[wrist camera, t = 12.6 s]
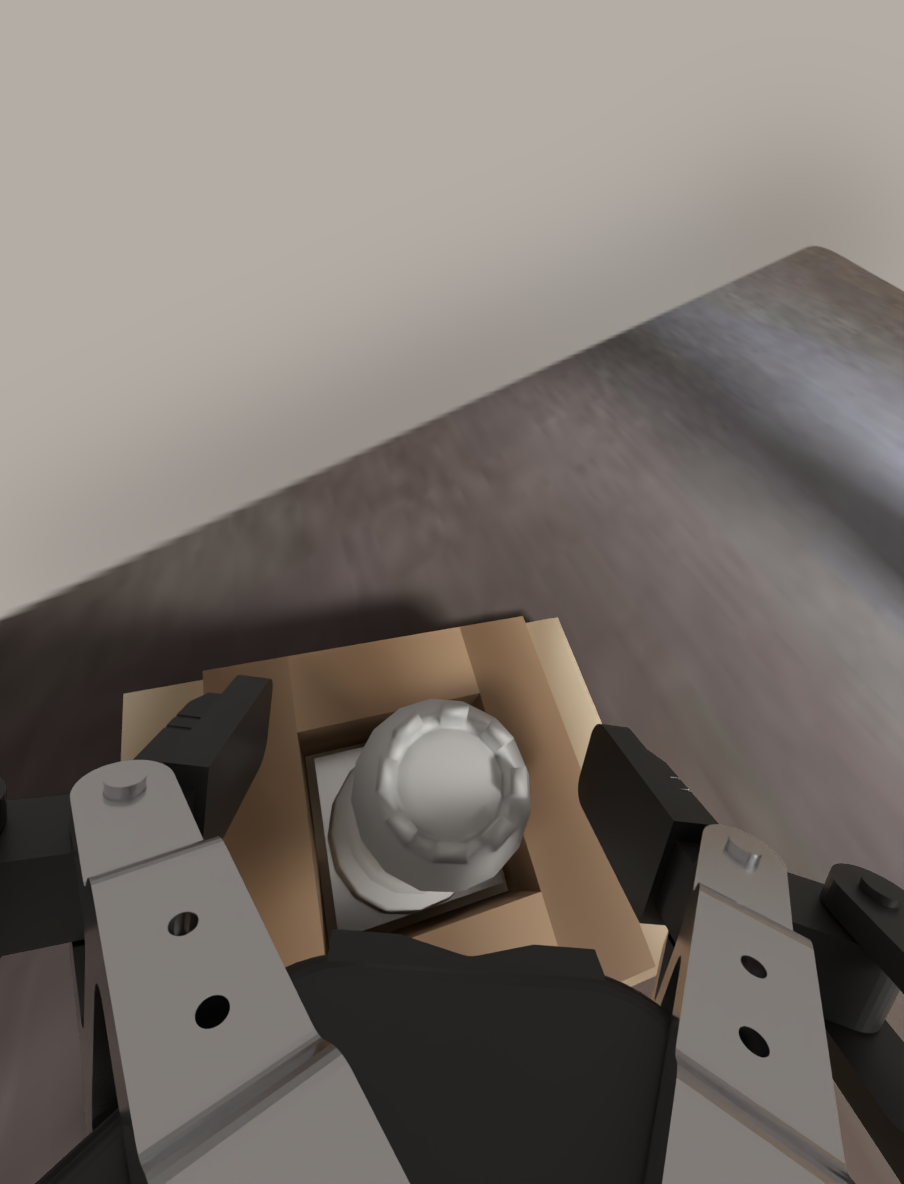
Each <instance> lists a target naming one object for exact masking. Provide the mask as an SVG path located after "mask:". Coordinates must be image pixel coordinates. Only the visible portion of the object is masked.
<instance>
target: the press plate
mask: <svg viewBox="0 0 904 1184" xmlns="http://www.w3.org/2000/svg"><path fill="white" fill-rule="evenodd" d="M363 748H364V747H361V748H356V749H352V750H348V751H344V752H339V753H335V754H331V755H326V756H322V757H318V758H314V760H315V768H316V775H317V782H318V790H319V797H320V804H321V812H322V819H323V826H324V834H325V841H326V848H327V855H328V863H329V870H330V877H331V885H332V892H333V899H334V907H335V914H336V921H337V929H338V930H352V931H364V930H366V929H369V928H372V927H375V926H378V925H381V924H384V923H387V922H390V921H393V920H396V919H399V918H402V917H404V916H407V915H410V914H383V913H381V912H380V911H378V910H376V909H374V908H372V907H370V906H369V905H367V904H365V903H363V902H361V901H359V900H358V899H356V898H354V896H353V895H352V894H351V892H350V891H349V889H348V888H347V887H346V885H345V884H344V883H343V881H342V880H341V878H340V877H339V876H338V874H337V873H336V871H335V869H334V864H333V860H332V856H331V851H330V847H329V843H328V838H327V836H328V829H329V822H330V815H331V809H332V803H333V802H334V799H335V797H336V795H337V794H338V792H339V790H340V788H341V786H342V785H343V783H344V781H345V779H346V777H347V775H348V774H349V772H350V771H351V770H352V769H353V768H354V767H355V765H356V761H357V759H358V757H359V755H360V753H361V752H362V750H363ZM501 883H503V879H502V876H501V872H500V870H499V872H498V873H497V874H496V875H495V876H494V877H492V878H490V879H488V880H486V881H483V882H481V883H479V884H477V885H475V886H472V887H470V888H468V889H466V890H464V891H462V892H455V894H454V895H453V896H452V897H451V898H450V899H449V900H446V901H444V902H442V903H445V902H448V901H451V900H454V899H457V898H460V897H463V896H466V895H469V894H472V893H475V892H478V891H480V890H483V889H486V888H489V887H492V886H495V885H498V884H501ZM442 903H440V904H442ZM440 904H438V905H440ZM436 906H437V905H436ZM433 907H434V906H433Z"/></svg>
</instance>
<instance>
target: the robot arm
mask: <svg viewBox="0 0 904 1184" xmlns="http://www.w3.org/2000/svg"><path fill="white" fill-rule="evenodd" d="M272 691H273V682H272V679H268V678H261V677H253V676H246V675H237V676H236V677H235V678H234V680H233V681H232V682H231V683H230V684H229V685H228V687H227V688H226V689H225V690H224V691H223V692H222V694H218V693H211V692H209V693H206V694H204V695H202V696H200V697H198V698H196V699H194V700H192V701H189V702H188V703H187V704H186V705H185V706H184V707H183V708H182V709H181V710H180V711H179V713H178V714H177V716H176V717H174V718H173V719H172V720H171V721H170V722H169V723H168V724H167V725H166V728H163V729H162V730H161V731H160V732H159V733H158V734H157V735H156V736H155V737H154V738H153V739H152V740H151V741H150V742H149V743H148V745H147V746H146V747H145V748H144V749H143V750H142V751H141V752H140V753H139V754H138V755H137V756H136V757H135V758H134V759H133V760H127V761H121V762H116V763H112V764H108V765H106V766H103V767H100V768H98V769H95V770H93V771H91V772H90V773H88V774H86V775H85V776H83V777H82V778H81V779H80V780H79V781H78V782H77V783H76V784H75V785H74V786H73V788H72V790H71V793H69V794H64V795H56V796H46V797H35V798H24V799H14V800H7V794H6V783H5V781H4V779H3V778H1V777H0V958H1V956H4V955H9V954H14V953H19V952H24V951H29V950H34V949H39V948H44V947H49V946H54V945H59V944H64V943H68V942H69V951H70V960H71V968H72V977H73V986H74V995H75V1004H76V1013H77V1021H78V1030H79V1039H80V1048H81V1059H82V1075H83V1099H84V1115H85V1128H86V1138H85V1139H83V1140H82V1141H81V1142H80V1143H79V1144H78V1145H77V1146H76V1147H75V1148H74V1149H73V1150H71V1151H70V1152H69V1153H68V1154H67V1155H66V1156H65V1157H64V1158H63V1159H62V1160H61V1161H59V1162H58V1163H57V1164H56V1165H55V1166H54V1167H53V1168H52V1169H51V1170H50V1171H48V1172H47V1173H46V1174H45V1175H44V1176H43V1177H42V1178H41V1179H40V1180H39V1181H38V1182H36V1183H35V1184H855V1183H854V1182H853V1180H852V1179H851V1178H850V1176H849V1174H848V1171H847V1168H846V1164H845V1159H844V1153H843V1146H842V1140H841V1133H840V1126H839V1119H838V1112H837V1106H836V1099H835V1092H834V1085H833V1080H834V1081H835V1083H836V1084H837V1086H838V1087H839V1089H840V1090H841V1092H842V1094H843V1095H844V1097H845V1098H846V1100H847V1101H848V1103H849V1104H850V1106H851V1107H852V1109H853V1110H854V1112H855V1113H856V1115H857V1116H858V1118H859V1119H860V1121H861V1123H862V1124H863V1126H864V1127H865V1129H866V1130H867V1132H868V1133H869V1135H870V1136H871V1138H872V1139H873V1141H874V1142H875V1144H876V1145H877V1147H878V1148H879V1150H880V1152H881V1153H882V1155H883V1156H884V1158H885V1159H886V1161H887V1162H888V1164H889V1165H890V1167H891V1168H892V1170H893V1171H894V1173H895V1174H896V1176H897V1177H898V1179H899V1181H900V1182H901V1184H904V1042H903V1041H902V1040H901V1038H900V1037H899V1036H898V1035H897V1033H896V1032H895V1031H894V1030H893V1029H892V1027H891V1026H890V1025H889V1024H888V1022H887V1021H886V1020H885V1019H886V1017H887V1015H888V1013H889V1011H890V1009H891V1007H892V1005H893V1003H894V1001H895V999H896V997H897V995H898V993H899V991H900V990H901V991H902V993H903V994H904V890H902V889H901V888H900V887H898V886H897V885H895V884H893V883H892V882H890V881H888V880H887V879H885V878H883V877H881V876H879V875H877V874H875V873H873V872H871V871H869V870H866V869H863V868H861V867H858V866H854V865H850V864H842V863H841V864H835V865H833V866H832V868H831V870H830V872H829V875H828V877H827V879H826V882H825V884H822V883H819V882H816V881H813V880H810V879H806V878H803V877H800V876H797V875H794V874H791V873H788V872H787V870H786V866H785V864H784V862H783V861H782V860H781V858H780V857H779V856H778V855H777V854H776V853H775V852H774V851H773V850H772V849H771V848H770V847H768V846H767V845H766V844H765V843H763V842H762V841H760V840H759V839H757V838H755V837H754V836H752V835H750V834H748V833H746V832H744V831H742V830H739V829H737V828H734V827H731V826H726V825H720V824H718V823H717V821H716V820H715V819H714V818H713V817H712V816H711V814H710V813H709V812H708V811H707V810H706V809H705V808H704V806H703V805H702V804H701V803H700V802H699V801H698V799H697V798H696V797H695V796H694V795H693V794H692V792H688V788H687V787H686V786H685V784H684V783H683V782H682V781H681V780H678V776H677V775H676V774H675V773H674V772H673V771H672V769H671V768H670V767H669V766H668V765H667V764H666V763H665V762H664V761H663V760H661V759H660V758H658V757H657V756H656V755H654V754H653V753H651V752H650V751H649V750H647V749H646V748H645V747H644V745H643V744H642V743H641V742H640V741H639V739H638V738H637V737H636V736H635V735H634V733H633V732H632V731H631V730H630V729H629V728H627V727H620V726H612V725H605V724H597V725H596V726H595V727H594V728H593V730H592V733H591V736H590V740H589V744H588V747H587V751H586V755H585V758H584V762H583V765H582V769H581V773H580V776H579V781H578V797H579V802H580V805H581V807H582V809H583V811H584V813H585V815H586V817H587V819H588V821H589V823H590V825H591V827H592V829H593V831H594V833H595V835H596V837H597V839H598V841H599V843H600V845H601V847H602V849H603V851H604V853H605V855H606V857H607V859H608V861H609V863H610V865H611V867H612V869H613V871H614V873H615V875H616V877H617V879H618V881H619V883H620V885H621V887H622V889H623V891H624V893H625V895H626V897H627V899H628V901H629V903H630V905H631V907H632V909H633V911H634V913H635V915H636V917H637V919H638V921H639V923H642V924H654V925H665V926H666V927H667V929H668V932H667V935H666V938H665V941H664V944H663V947H662V951H661V956H660V961H659V965H658V970H657V974H656V979H655V983H654V988H653V993H652V997H651V999H650V998H649V997H647V996H646V995H644V994H643V993H641V992H639V991H637V990H636V989H634V988H632V987H630V986H629V985H627V984H625V983H622V982H620V981H618V980H616V979H613V978H611V977H608V976H605V975H604V972H603V970H602V967H601V964H600V962H599V959H598V956H597V954H596V951H595V949H586V948H573V947H560V946H547V945H534V944H533V945H528V946H523V947H518V948H513V949H508V950H503V951H498V952H493V953H488V954H483V955H478V956H466V955H462V954H459V953H456V952H453V951H450V950H447V949H444V948H441V947H438V946H434V945H431V944H428V943H425V942H422V941H419V940H416V939H413V938H410V937H407V936H404V935H401V934H391V933H378V932H365V931H352V930H338V929H332V934H331V940H330V945H329V951H328V954H326V955H321V956H316V957H312V958H309V959H306V960H302V961H299V962H296V963H294V964H292V965H289V966H287V967H284V965H283V962H282V960H281V958H280V956H279V954H278V952H277V950H276V948H275V946H274V944H273V942H272V940H271V938H270V936H269V934H268V932H267V929H266V927H265V925H264V923H263V921H262V919H261V917H260V915H259V913H258V911H257V909H256V907H255V905H254V903H253V901H252V899H251V896H250V894H249V892H248V890H247V888H246V886H245V884H244V882H243V880H242V878H241V876H240V874H239V872H238V870H237V868H236V866H235V863H234V861H233V859H232V857H231V855H230V853H229V851H228V849H227V847H226V845H225V843H224V841H223V838H224V836H225V834H226V832H227V830H228V828H229V826H230V824H231V822H232V820H233V818H234V817H235V815H236V813H237V811H238V809H239V807H240V805H241V803H242V801H243V799H244V797H245V795H246V793H247V791H248V789H249V787H250V786H251V784H252V782H253V780H254V778H255V776H256V774H257V772H258V770H259V768H260V766H261V763H262V760H263V757H264V753H265V749H266V744H267V737H268V728H269V719H270V709H271V700H272Z"/></svg>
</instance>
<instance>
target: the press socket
mask: <svg viewBox="0 0 904 1184" xmlns="http://www.w3.org/2000/svg"><path fill="white" fill-rule="evenodd" d="M237 675H246V676H253V677H261V678H268V679H272V682H273V691H272V700H271V709H270V719H269V728H268V737H267V744H266V749H265V753H264V757H263V760H262V763H261V766H260V768H259V770H258V772H257V774H256V776H255V778H254V780H253V782H252V784H251V786H250V787H249V789H248V791H247V793H246V795H245V797H244V799H243V801H242V803H241V805H240V807H239V809H238V811H237V813H236V815H235V817H234V818H233V820H232V822H231V824H230V826H229V828H228V830H227V832H226V834H225V836H224V838H223V841H224V843H225V845H226V847H227V849H228V851H229V853H230V855H231V857H232V859H233V861H234V863H235V866H236V868H237V870H238V872H239V874H240V876H241V878H242V880H243V882H244V884H245V886H246V888H247V890H248V892H249V894H250V896H251V899H252V901H253V903H254V905H255V907H256V909H257V911H258V913H259V915H260V917H261V919H262V921H263V923H264V925H265V927H266V929H267V932H268V934H269V936H270V938H271V940H272V942H273V944H274V946H275V948H276V950H277V952H278V954H279V956H280V958H281V960H282V962H283V965H284V967H287V966H289V965H292V964H294V963H296V962H299V961H302V960H306V959H309V958H312V957H316V956H321V955H326V954H328V951H329V945H330V940H331V934H332V929H337V921H336V914H335V907H334V899H333V892H332V885H331V877H330V870H329V863H328V855H327V848H326V841H325V834H324V826H323V819H322V812H321V804H320V797H319V790H318V782H317V775H316V768H315V760H314V758H318V757H322V756H326V755H331V754H335V753H339V752H344V751H348V750H352V749H356V748H361V747H364V746H365V744H366V743H367V741H368V739H369V737H370V735H371V733H372V732H373V730H374V729H375V728H376V727H378V726H379V725H380V724H381V723H382V722H384V721H385V720H386V719H387V718H388V717H390V716H391V715H392V714H393V713H395V712H396V711H397V710H398V709H399V708H402V707H405V706H408V705H412V704H415V703H418V702H421V701H425V700H428V699H442V700H453V701H463V702H465V703H467V704H470V705H471V706H473V707H475V708H477V709H479V710H481V711H483V712H485V713H487V714H489V715H491V716H493V717H495V718H496V719H497V720H498V721H499V722H500V723H501V724H502V725H503V726H504V727H505V728H506V730H507V731H508V732H509V733H510V734H511V735H512V736H513V737H514V740H515V742H516V744H517V747H518V749H519V751H520V754H521V756H522V758H523V761H524V763H525V766H526V768H527V770H528V773H529V783H530V804H531V812H530V815H529V819H528V822H527V825H526V828H525V831H524V834H523V837H522V840H521V843H520V846H519V848H518V849H517V851H516V852H515V853H514V854H513V855H512V856H511V858H510V859H509V860H508V861H507V862H506V863H505V865H504V866H503V867H502V868H501V869H500V872H501V876H502V879H503V883H501V884H498V885H495V886H492V887H489V888H486V889H483V890H480V891H478V892H475V893H472V894H469V895H466V896H463V897H460V898H457V899H454V900H451V901H448V902H445V903H442V904H440V905H437V906H434V907H431V908H429V909H427V910H425V911H422V912H420V913H418V914H410V915H407V916H404V917H402V918H399V919H396V920H393V921H390V922H387V923H384V924H381V925H378V926H375V927H372V928H369V929H366V930H364V931H365V932H378V933H391V934H401V935H404V936H407V937H410V938H413V939H416V940H419V941H422V942H425V943H428V944H431V945H434V946H438V947H441V948H444V949H447V950H450V951H453V952H456V953H459V954H462V955H466V956H478V955H483V954H488V953H493V952H498V951H503V950H508V949H513V948H518V947H523V946H528V945H533V944H534V945H547V946H560V947H573V948H586V949H595V951H596V954H597V956H598V959H599V962H600V964H601V967H602V970H603V972H604V975H605V976H608V977H611V978H613V979H616V980H618V981H620V982H622V983H625V984H627V985H629V986H630V987H631V986H634V985H636V984H638V983H640V982H643V981H645V980H647V979H649V978H651V977H654V976H656V974H657V970H658V965H659V961H660V956H661V951H662V947H663V944H664V941H665V938H666V935H667V932H668V929H667V927H666V926H665V925H654V924H642V923H639V921H638V919H637V917H636V915H635V913H634V911H633V909H632V907H631V905H630V903H629V901H628V899H627V897H626V895H625V893H624V891H623V889H622V887H621V885H620V883H619V881H618V879H617V877H616V875H615V873H614V871H613V869H612V867H611V865H610V863H609V861H608V859H607V857H606V855H605V853H604V851H603V849H602V847H601V845H600V843H599V841H598V839H597V837H596V835H595V833H594V831H593V829H592V827H591V825H590V823H589V821H588V819H587V817H586V815H585V813H584V811H583V809H582V807H581V805H580V802H579V797H578V781H579V776H580V773H581V769H582V765H583V762H584V758H585V755H586V751H587V747H588V744H589V740H590V736H591V733H592V730H593V728H594V727H595V726H596V725H597V724H602V723H601V720H600V718H599V716H598V713H597V711H596V708H595V706H594V704H593V701H592V699H591V696H590V694H589V692H588V689H587V687H586V684H585V682H584V680H583V677H582V675H581V672H580V670H579V668H578V665H577V663H576V660H575V658H574V656H573V653H572V651H571V648H570V646H569V644H568V641H567V639H566V636H565V634H564V631H563V629H562V627H561V624H560V622H559V619H558V617H557V618H551V619H545V620H540V621H534V622H528V623H525V620H524V618H523V616H520V617H514V618H508V619H502V620H496V621H490V622H485V623H479V624H473V625H467V626H461V627H455V628H450V629H444V630H438V631H432V632H426V633H420V634H414V635H409V636H403V637H397V638H391V639H385V640H379V641H374V642H368V643H362V644H356V645H350V646H344V647H339V648H333V649H327V650H321V651H315V652H309V653H303V654H298V655H292V656H286V657H280V658H274V659H268V660H263V661H257V662H251V663H245V664H239V665H233V666H228V667H222V668H216V669H210V670H204V671H203V680H199V681H193V682H188V683H182V684H176V685H171V686H165V687H159V688H153V689H148V690H142V691H136V692H131V693H125V694H124V695H123V719H122V742H121V761H127V760H133V759H134V758H135V757H136V756H137V755H138V754H139V753H140V752H141V751H142V750H143V749H144V748H145V747H146V746H147V745H148V743H149V742H150V741H151V740H152V739H153V738H154V737H155V736H156V735H157V734H158V733H159V732H160V731H161V730H162V729H163V728H166V725H167V724H168V723H169V722H170V721H171V720H172V719H173V718H174V717H176V716H177V714H178V713H179V711H180V710H181V709H182V708H183V707H184V706H185V705H186V704H187V703H188V702H189V701H192V700H194V699H196V698H198V697H200V696H202V695H204V694H206V693H209V692H211V693H218V694H222V692H223V691H224V690H225V689H226V688H227V687H228V685H229V684H230V683H231V682H232V681H233V680H234V678H235V677H236V676H237Z"/></svg>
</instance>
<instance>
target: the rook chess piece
mask: <svg viewBox="0 0 904 1184" xmlns="http://www.w3.org/2000/svg"><path fill="white" fill-rule="evenodd" d="M530 812H531V804H530V783H529V773H528V770H527V768H526V766H525V763H524V761H523V758H522V756H521V754H520V751H519V749H518V747H517V744H516V742H515V740H514V737H513V736H512V735H511V734H510V733H509V732H508V731H507V730H506V728H505V727H504V726H503V725H502V724H501V723H500V722H499V721H498V720H497V719H496V718H495V717H493V716H491V715H489V714H487V713H485V712H483V711H481V710H479V709H477V708H475V707H473V706H471V705H470V704H467V703H465V702H463V701H453V700H442V699H428V700H425V701H421V702H418V703H415V704H412V705H408V706H405V707H402V708H399V709H398V710H397V711H396V712H395V713H393V714H392V715H391V716H390V717H388V718H387V719H386V720H385V721H384V722H382V723H381V724H380V725H379V726H378V727H376V728H375V729H374V730H373V732H372V733H371V735H370V737H369V739H368V741H367V743H366V744H365V746H364V748H363V750H362V752H361V753H360V755H359V757H358V759H357V761H356V765H355V767H354V768H353V769H352V770H351V771H350V772H349V774H348V775H347V777H346V779H345V781H344V783H343V785H342V786H341V788H340V790H339V792H338V794H337V795H336V797H335V799H334V802H333V803H332V809H331V815H330V822H329V829H328V836H327V838H328V843H329V847H330V851H331V856H332V860H333V864H334V869H335V871H336V873H337V874H338V876H339V877H340V878H341V880H342V881H343V883H344V884H345V885H346V887H347V888H348V889H349V891H350V892H351V894H352V895H353V896H354V898H356V899H358V900H359V901H361V902H363V903H365V904H367V905H369V906H370V907H372V908H374V909H376V910H378V911H380V912H381V913H383V914H418V913H420V912H422V911H425V910H427V909H429V908H431V907H433V906H436V905H438V904H440V903H442V902H444V901H446V900H449V899H450V898H451V897H452V896H453V895H454V894H455V892H462V891H464V890H466V889H468V888H470V887H472V886H475V885H477V884H479V883H481V882H483V881H486V880H488V879H490V878H492V877H494V876H495V875H496V874H497V873H498V872H499V870H500V869H501V868H502V867H503V866H504V865H505V863H506V862H507V861H508V860H509V859H510V858H511V856H512V855H513V854H514V853H515V852H516V851H517V849H518V848H519V846H520V843H521V840H522V837H523V834H524V831H525V828H526V825H527V822H528V819H529V815H530Z"/></svg>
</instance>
